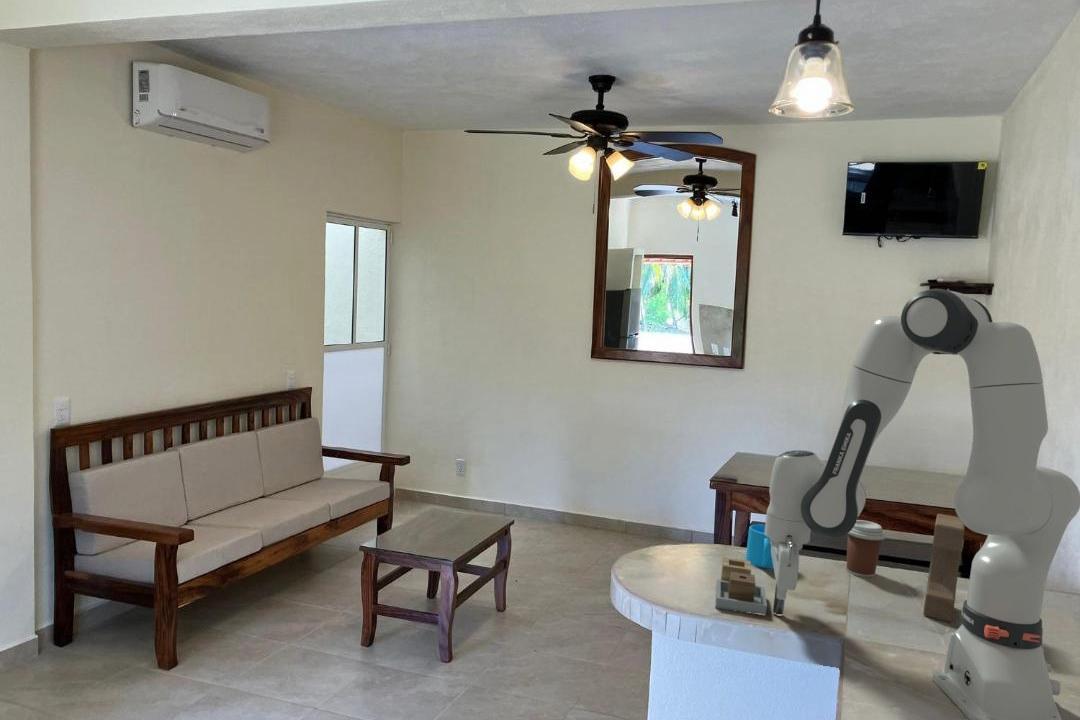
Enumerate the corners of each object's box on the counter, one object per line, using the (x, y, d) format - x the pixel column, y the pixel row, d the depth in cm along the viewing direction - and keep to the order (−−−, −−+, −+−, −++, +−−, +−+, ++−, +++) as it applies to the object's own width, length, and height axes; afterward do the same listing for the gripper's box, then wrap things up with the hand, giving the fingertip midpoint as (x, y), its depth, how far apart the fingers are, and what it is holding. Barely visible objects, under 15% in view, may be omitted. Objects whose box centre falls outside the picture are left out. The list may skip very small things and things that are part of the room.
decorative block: (951, 623, 171) (964, 529, 169) (921, 616, 174) (934, 524, 172) (954, 606, 181) (966, 518, 179) (925, 600, 183) (937, 512, 181)
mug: (745, 554, 205) (748, 522, 204) (779, 559, 203) (782, 527, 203) (746, 570, 193) (749, 536, 193) (782, 575, 192) (786, 541, 191)
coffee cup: (851, 563, 205) (857, 516, 204) (887, 575, 198) (893, 526, 197) (833, 570, 199) (839, 521, 197) (870, 582, 192) (876, 532, 191)
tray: (765, 616, 167) (766, 605, 166) (715, 608, 169) (716, 597, 168) (763, 596, 177) (764, 586, 177) (715, 589, 179) (716, 579, 179)
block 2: (752, 606, 170) (755, 583, 169) (728, 602, 171) (730, 579, 170) (752, 597, 175) (754, 575, 174) (728, 594, 176) (730, 571, 175)
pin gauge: (783, 617, 167) (788, 574, 166) (773, 615, 167) (777, 573, 166) (782, 613, 169) (787, 571, 168) (772, 612, 169) (777, 569, 168)
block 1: (748, 592, 179) (751, 569, 179) (720, 587, 181) (723, 565, 180) (747, 582, 185) (750, 561, 185) (720, 578, 186) (723, 557, 186)
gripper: (809, 547, 155) (800, 617, 157) (799, 518, 175) (792, 580, 177) (774, 542, 157) (766, 612, 158) (769, 514, 177) (762, 576, 178)
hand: (780, 595), depth 168 cm, fingers closed on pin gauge, 2 cm apart
